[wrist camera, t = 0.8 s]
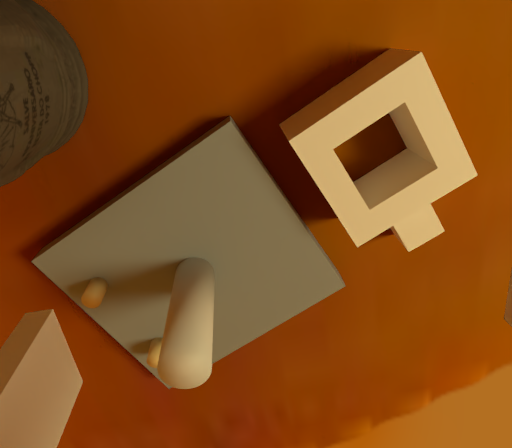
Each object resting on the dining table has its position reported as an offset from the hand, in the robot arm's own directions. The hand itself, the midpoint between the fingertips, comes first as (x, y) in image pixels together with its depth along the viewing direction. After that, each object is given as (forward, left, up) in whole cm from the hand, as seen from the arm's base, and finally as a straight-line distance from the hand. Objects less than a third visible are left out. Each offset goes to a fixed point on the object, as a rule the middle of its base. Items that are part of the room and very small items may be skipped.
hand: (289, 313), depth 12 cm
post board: (+9, +6, -20) cm, 23 cm away
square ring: (-7, +7, -20) cm, 22 cm away
